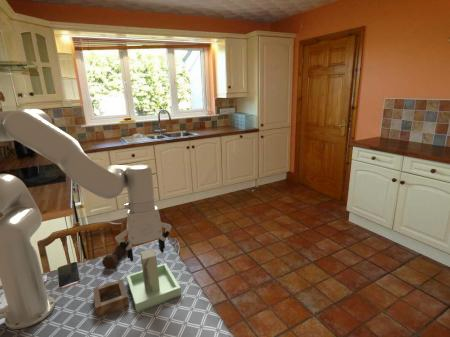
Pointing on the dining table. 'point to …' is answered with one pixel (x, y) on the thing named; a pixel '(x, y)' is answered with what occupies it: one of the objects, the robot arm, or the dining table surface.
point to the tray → (166, 292)
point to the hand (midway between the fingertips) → (146, 254)
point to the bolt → (113, 257)
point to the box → (150, 270)
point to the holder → (113, 303)
